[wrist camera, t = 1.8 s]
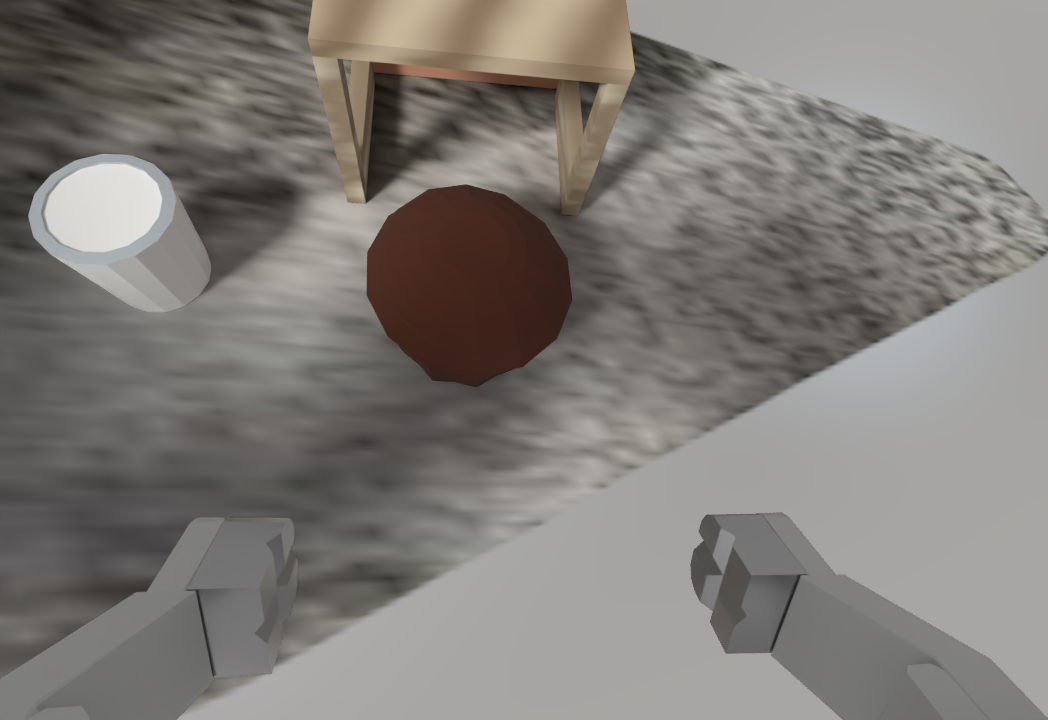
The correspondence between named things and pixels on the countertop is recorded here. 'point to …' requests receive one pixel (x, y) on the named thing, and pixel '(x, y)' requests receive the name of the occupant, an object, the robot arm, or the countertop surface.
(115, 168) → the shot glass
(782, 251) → the countertop surface
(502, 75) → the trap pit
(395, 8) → the tunnel
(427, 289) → the muffin
